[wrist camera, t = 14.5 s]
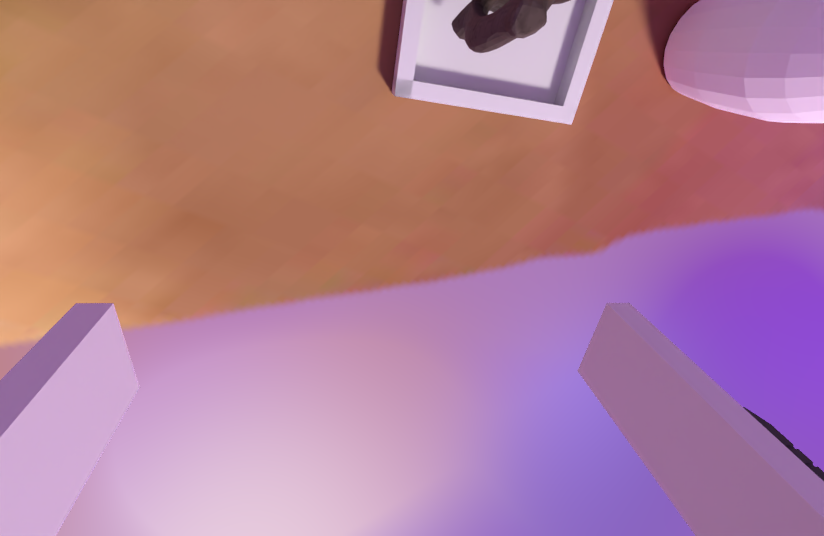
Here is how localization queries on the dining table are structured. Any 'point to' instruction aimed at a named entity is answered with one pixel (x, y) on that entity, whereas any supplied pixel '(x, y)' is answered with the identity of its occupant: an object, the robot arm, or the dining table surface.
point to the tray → (499, 61)
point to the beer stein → (500, 22)
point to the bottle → (751, 58)
